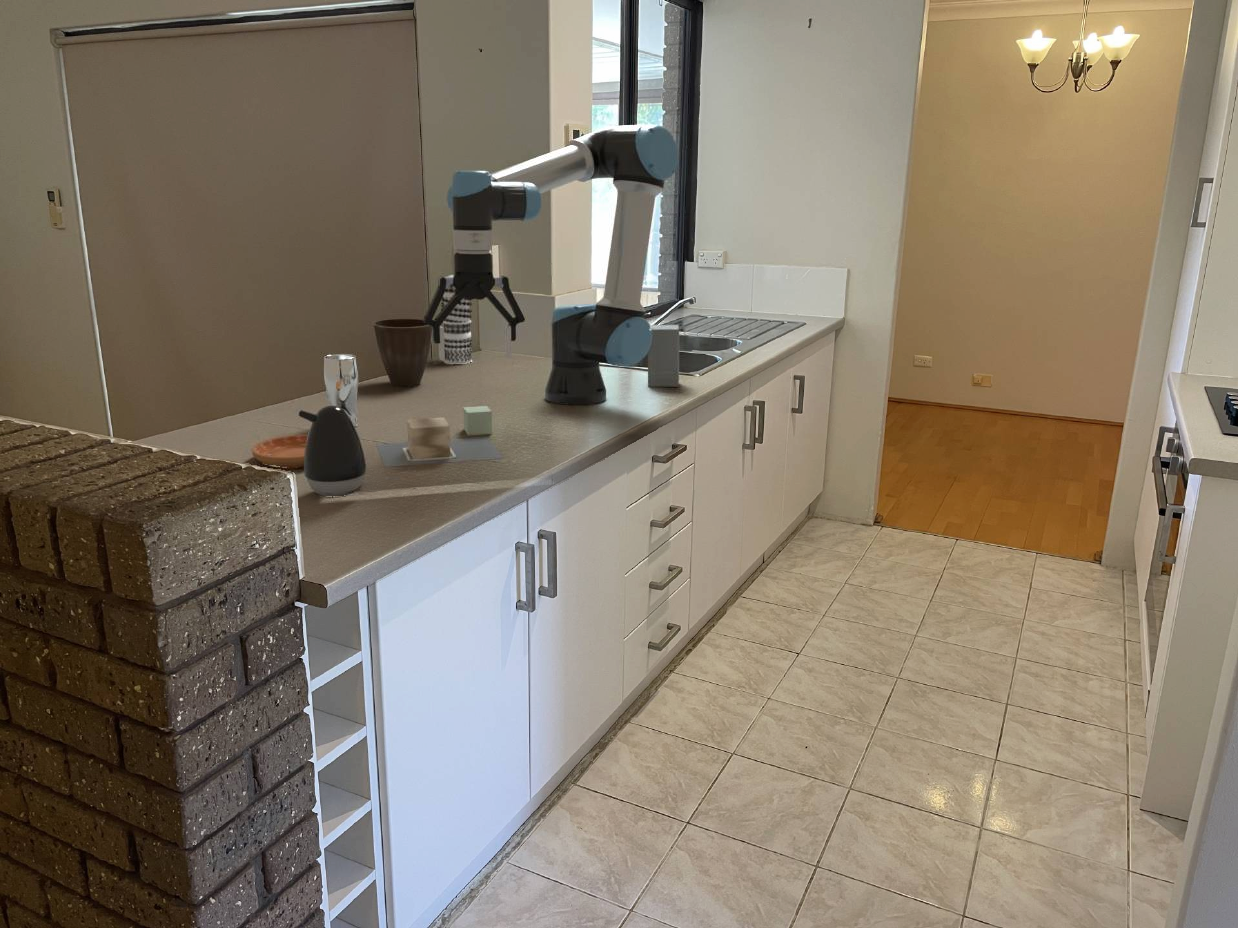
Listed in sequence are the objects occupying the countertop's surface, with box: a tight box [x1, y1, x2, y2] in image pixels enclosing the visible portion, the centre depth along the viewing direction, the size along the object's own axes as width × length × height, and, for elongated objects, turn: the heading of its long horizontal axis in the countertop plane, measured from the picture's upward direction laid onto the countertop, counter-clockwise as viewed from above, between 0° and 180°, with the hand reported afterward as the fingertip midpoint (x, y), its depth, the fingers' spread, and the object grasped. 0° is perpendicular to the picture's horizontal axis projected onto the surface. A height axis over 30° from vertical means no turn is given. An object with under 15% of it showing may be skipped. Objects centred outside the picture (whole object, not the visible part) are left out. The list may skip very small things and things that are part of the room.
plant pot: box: [373, 318, 433, 387], centre depth 246 cm, size 15×15×16 cm
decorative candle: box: [440, 274, 474, 365], centre depth 275 cm, size 9×9×25 cm
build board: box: [376, 436, 504, 468], centre depth 184 cm, size 22×16×1 cm
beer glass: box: [323, 353, 360, 428], centre depth 204 cm, size 7×7×15 cm
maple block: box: [406, 417, 451, 459], centre depth 181 cm, size 7×7×6 cm
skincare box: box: [647, 324, 680, 388], centre depth 250 cm, size 8×7×16 cm
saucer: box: [251, 434, 308, 469], centre depth 181 cm, size 16×16×3 cm
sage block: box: [462, 405, 493, 436], centre depth 198 cm, size 5×5×6 cm
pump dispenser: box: [298, 405, 367, 498], centre depth 160 cm, size 10×10×15 cm
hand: (475, 358), depth 194 cm, fingers open, 13 cm apart
